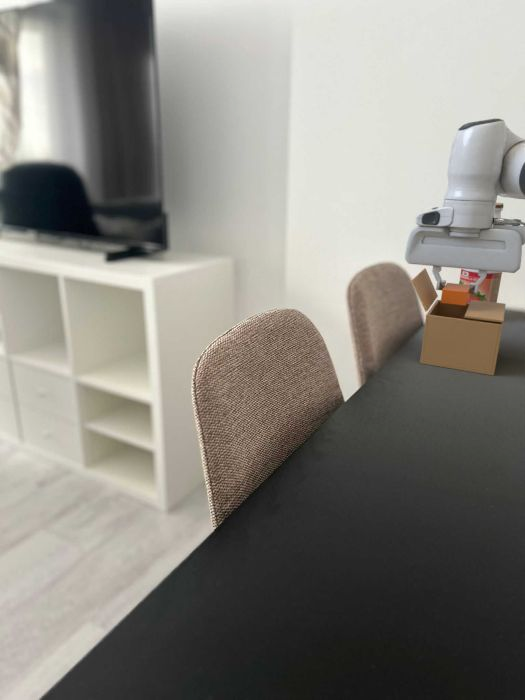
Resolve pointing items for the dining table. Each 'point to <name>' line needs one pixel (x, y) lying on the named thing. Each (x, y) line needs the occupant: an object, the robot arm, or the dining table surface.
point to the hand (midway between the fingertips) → (456, 291)
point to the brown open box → (463, 336)
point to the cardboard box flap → (425, 289)
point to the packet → (455, 294)
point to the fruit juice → (492, 280)
